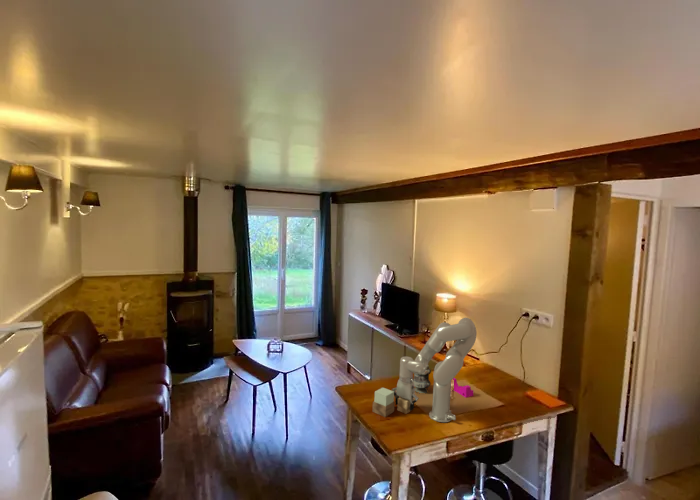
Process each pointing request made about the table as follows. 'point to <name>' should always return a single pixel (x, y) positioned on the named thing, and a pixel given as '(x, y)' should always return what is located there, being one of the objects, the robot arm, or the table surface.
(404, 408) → the oak block
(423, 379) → the apothecary jar
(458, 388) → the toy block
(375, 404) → the walnut base block
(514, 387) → the table surface
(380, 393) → the sage top block
